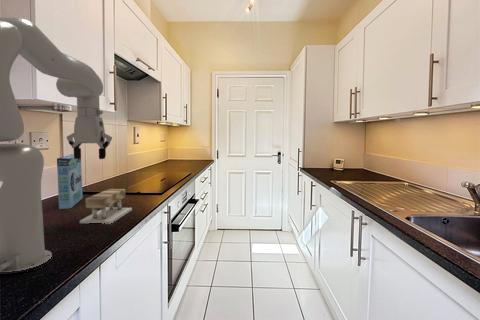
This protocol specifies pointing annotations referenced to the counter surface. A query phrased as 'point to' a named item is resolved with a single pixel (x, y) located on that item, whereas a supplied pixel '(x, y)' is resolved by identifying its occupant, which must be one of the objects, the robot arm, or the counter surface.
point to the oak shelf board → (105, 198)
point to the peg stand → (106, 214)
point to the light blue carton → (69, 181)
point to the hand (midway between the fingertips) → (89, 158)
